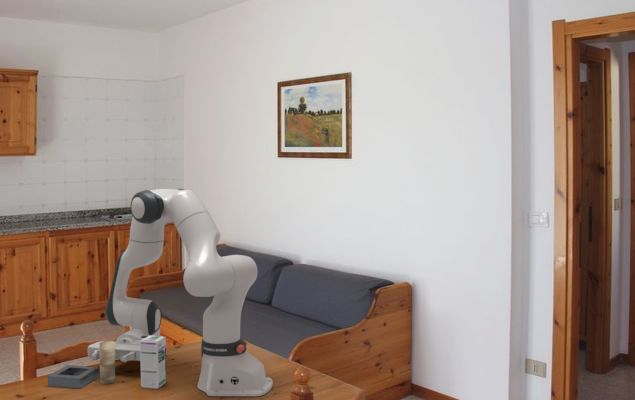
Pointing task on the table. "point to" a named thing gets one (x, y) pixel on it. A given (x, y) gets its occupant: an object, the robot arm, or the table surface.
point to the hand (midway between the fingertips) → (108, 358)
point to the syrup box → (153, 361)
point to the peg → (107, 362)
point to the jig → (73, 376)
